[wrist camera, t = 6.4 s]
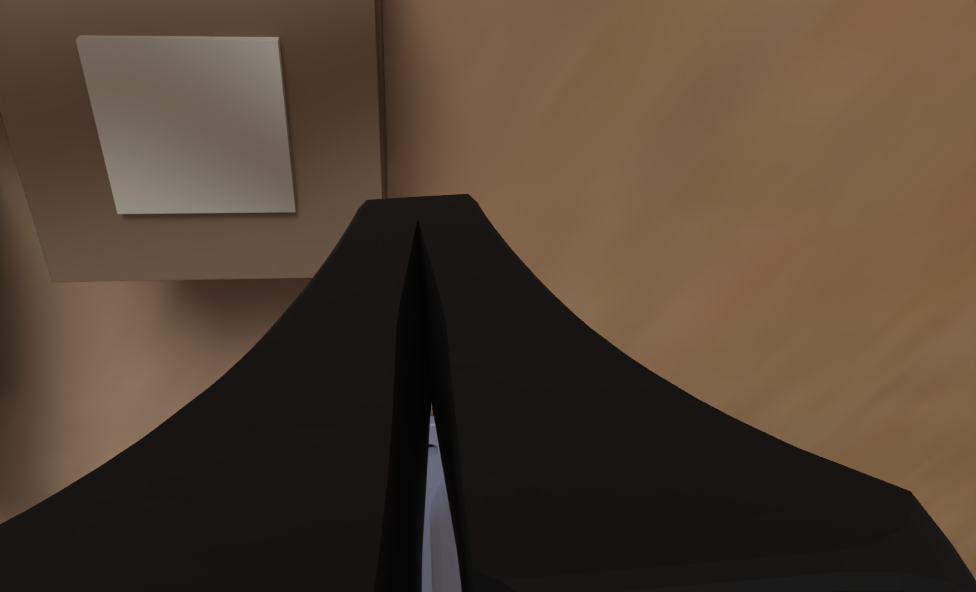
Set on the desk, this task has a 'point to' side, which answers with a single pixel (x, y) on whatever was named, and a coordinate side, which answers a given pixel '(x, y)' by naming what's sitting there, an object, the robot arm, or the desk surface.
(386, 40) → the desk surface
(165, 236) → the walnut block
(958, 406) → the desk surface
